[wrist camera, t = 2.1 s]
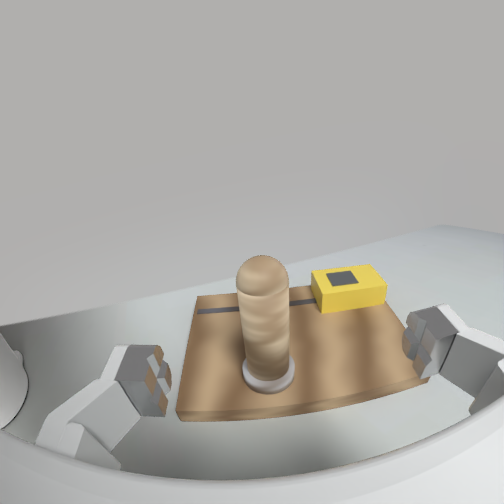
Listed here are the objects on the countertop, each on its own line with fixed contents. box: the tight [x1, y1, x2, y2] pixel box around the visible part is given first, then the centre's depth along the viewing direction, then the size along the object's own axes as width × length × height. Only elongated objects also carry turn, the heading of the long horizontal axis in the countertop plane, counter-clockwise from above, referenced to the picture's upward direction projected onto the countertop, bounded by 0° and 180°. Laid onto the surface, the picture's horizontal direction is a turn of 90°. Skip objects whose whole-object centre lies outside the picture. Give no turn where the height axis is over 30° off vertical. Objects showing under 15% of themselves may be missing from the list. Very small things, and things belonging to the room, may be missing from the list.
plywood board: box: [176, 286, 430, 421], centre depth 32 cm, size 26×20×2 cm
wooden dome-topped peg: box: [236, 255, 295, 395], centre depth 23 cm, size 5×5×13 cm
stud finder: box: [311, 264, 388, 314], centre depth 36 cm, size 9×6×3 cm, turn 93°
